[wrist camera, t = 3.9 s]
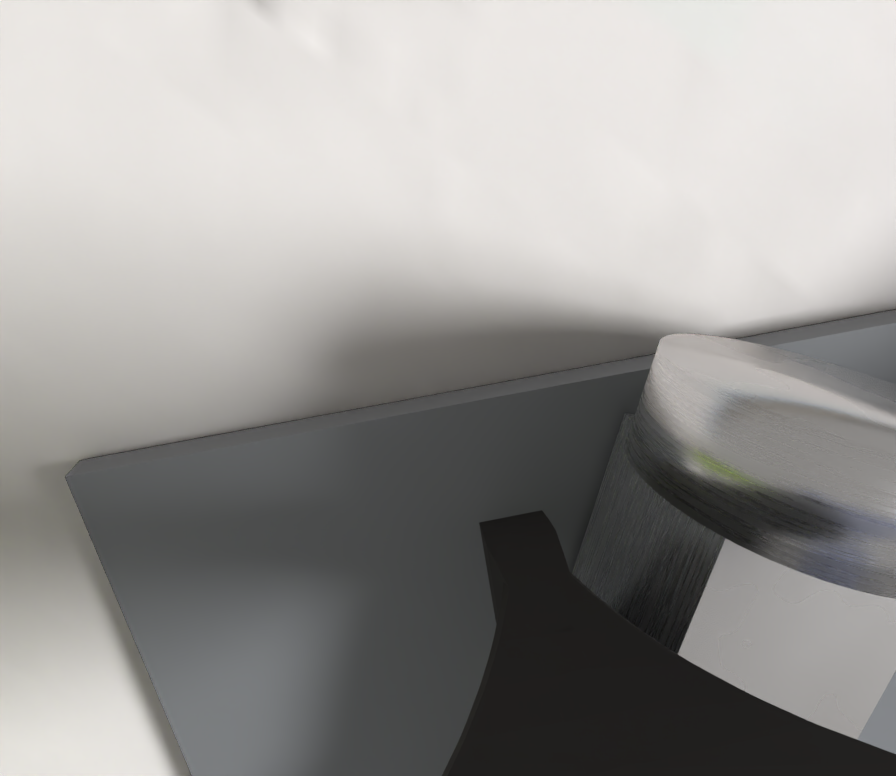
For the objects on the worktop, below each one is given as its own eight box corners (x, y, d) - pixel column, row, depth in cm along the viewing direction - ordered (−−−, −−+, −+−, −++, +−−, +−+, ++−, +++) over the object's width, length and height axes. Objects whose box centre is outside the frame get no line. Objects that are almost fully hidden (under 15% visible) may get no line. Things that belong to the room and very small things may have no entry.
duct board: (1214, 778, 18) (1576, 1056, 12) (291, 975, 17) (250, 1366, 12) (1430, 210, 12) (2248, 270, 7) (80, 460, 11) (-184, 749, 6)
